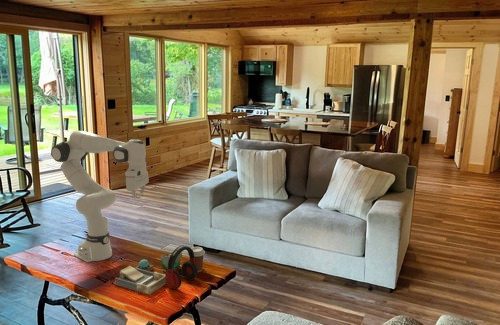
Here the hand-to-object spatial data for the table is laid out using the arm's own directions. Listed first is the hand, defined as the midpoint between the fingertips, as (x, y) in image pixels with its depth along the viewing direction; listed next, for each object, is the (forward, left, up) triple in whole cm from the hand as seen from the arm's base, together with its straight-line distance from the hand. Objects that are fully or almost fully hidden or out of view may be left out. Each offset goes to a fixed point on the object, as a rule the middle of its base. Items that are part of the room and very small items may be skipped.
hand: (138, 195), depth 213 cm
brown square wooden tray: (+3, -1, -42) cm, 42 cm away
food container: (+18, +5, -42) cm, 46 cm away
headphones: (+30, -4, -42) cm, 52 cm away
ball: (+3, -1, -38) cm, 38 cm away
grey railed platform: (+8, -14, -42) cm, 45 cm away
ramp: (+6, -14, -40) cm, 42 cm away
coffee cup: (+28, +13, -42) cm, 52 cm away
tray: (+19, -14, -42) cm, 48 cm away
